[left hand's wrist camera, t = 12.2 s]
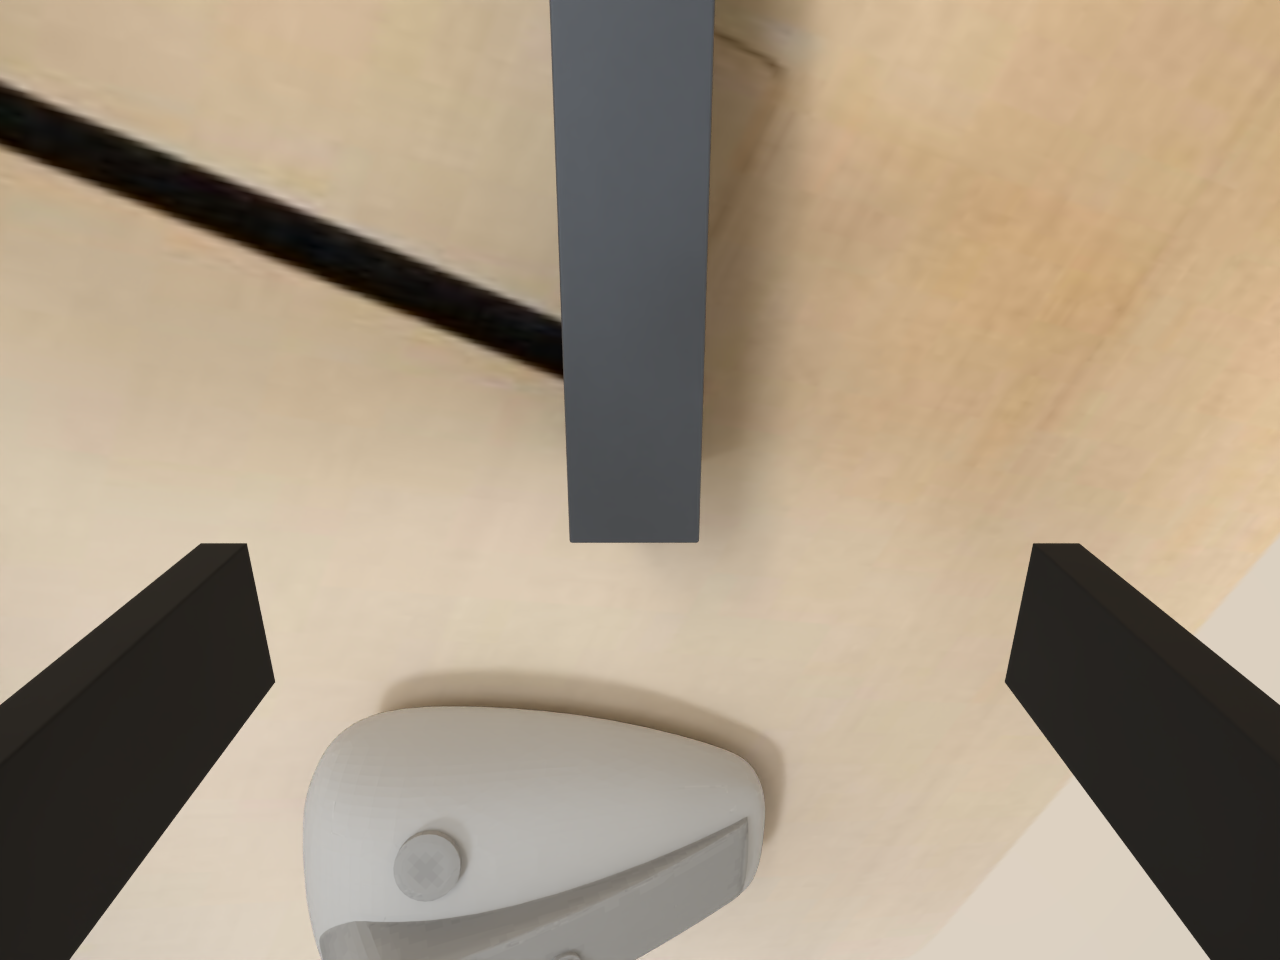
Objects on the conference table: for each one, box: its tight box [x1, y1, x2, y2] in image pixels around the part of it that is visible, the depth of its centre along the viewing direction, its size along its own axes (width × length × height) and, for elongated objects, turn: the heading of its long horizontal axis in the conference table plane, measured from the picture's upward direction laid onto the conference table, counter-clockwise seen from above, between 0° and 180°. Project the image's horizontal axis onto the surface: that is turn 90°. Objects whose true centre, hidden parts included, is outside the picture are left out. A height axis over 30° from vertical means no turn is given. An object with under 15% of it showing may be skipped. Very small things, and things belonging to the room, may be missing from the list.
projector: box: [303, 706, 765, 960], centre depth 37 cm, size 22×23×15 cm
